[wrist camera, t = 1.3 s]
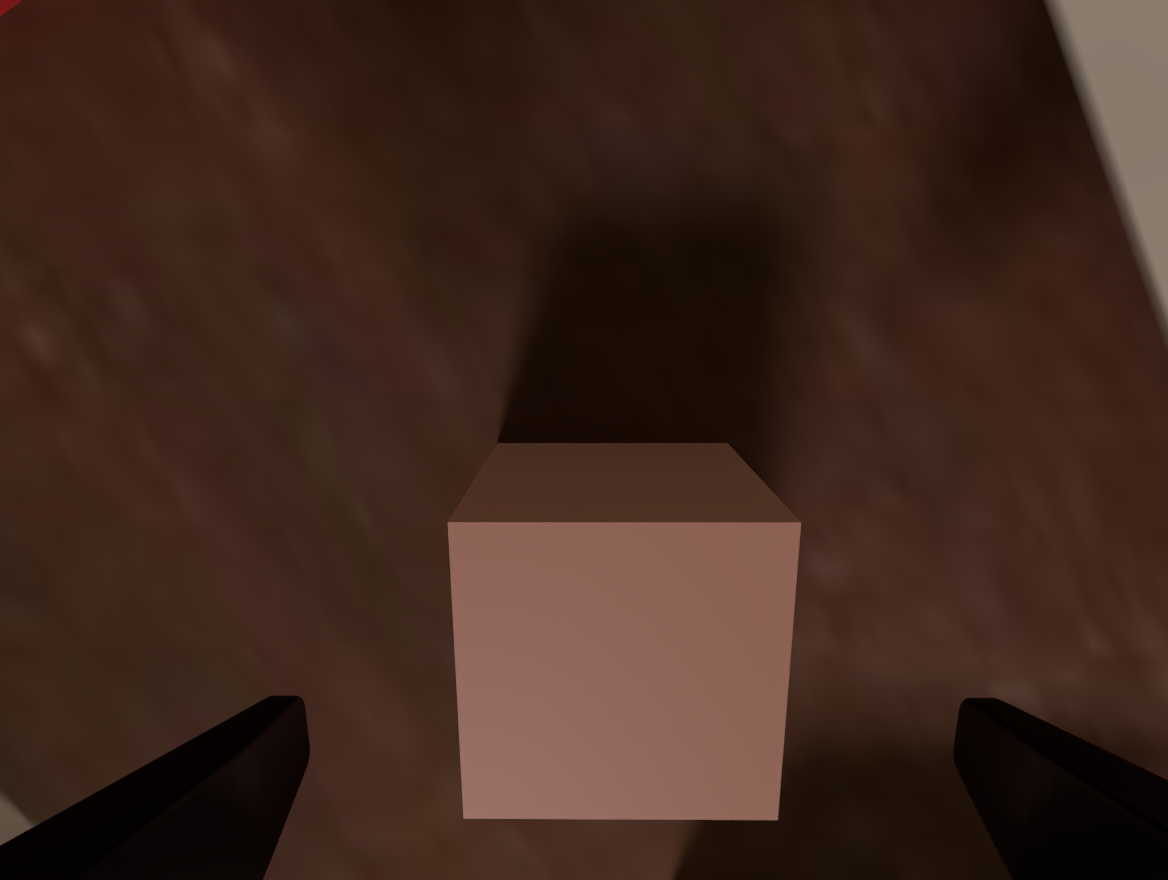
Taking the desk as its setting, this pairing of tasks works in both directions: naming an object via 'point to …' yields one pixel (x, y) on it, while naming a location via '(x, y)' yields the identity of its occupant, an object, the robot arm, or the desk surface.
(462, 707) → the terracotta block
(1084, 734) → the desk surface
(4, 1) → the bracket
